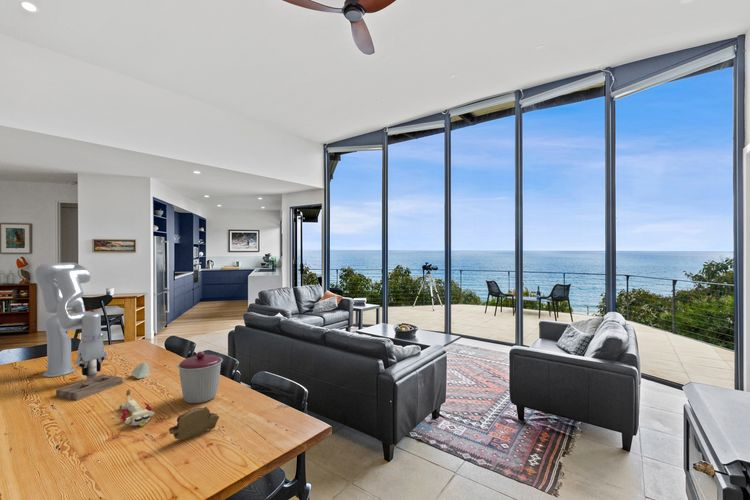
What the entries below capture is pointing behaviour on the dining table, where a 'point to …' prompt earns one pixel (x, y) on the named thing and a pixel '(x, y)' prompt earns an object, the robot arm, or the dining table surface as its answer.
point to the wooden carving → (194, 423)
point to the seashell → (141, 371)
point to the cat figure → (135, 412)
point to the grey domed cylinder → (92, 369)
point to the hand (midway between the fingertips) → (91, 372)
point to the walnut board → (89, 387)
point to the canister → (200, 377)
